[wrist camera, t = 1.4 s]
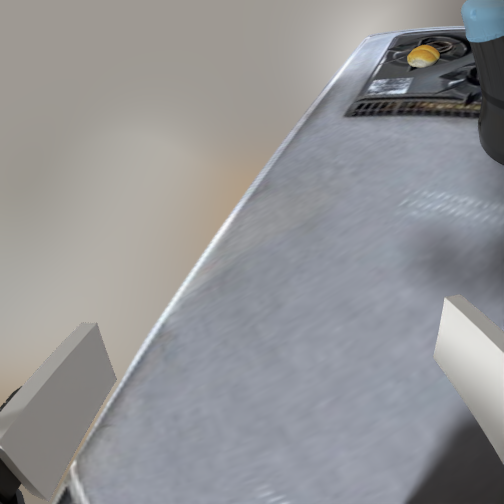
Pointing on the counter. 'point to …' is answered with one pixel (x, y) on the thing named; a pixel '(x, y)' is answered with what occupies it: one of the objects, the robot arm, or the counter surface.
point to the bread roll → (423, 56)
